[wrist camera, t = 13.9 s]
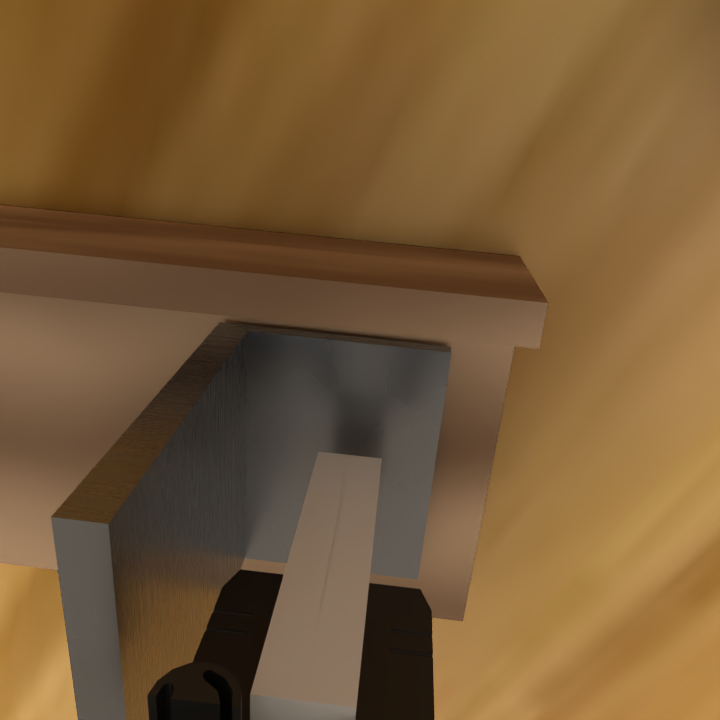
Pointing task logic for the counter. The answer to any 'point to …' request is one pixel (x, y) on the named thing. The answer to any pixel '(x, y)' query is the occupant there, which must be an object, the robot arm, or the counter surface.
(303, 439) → the bookend
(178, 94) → the counter surface
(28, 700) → the counter surface
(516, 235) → the counter surface
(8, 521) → the wooden book rack
